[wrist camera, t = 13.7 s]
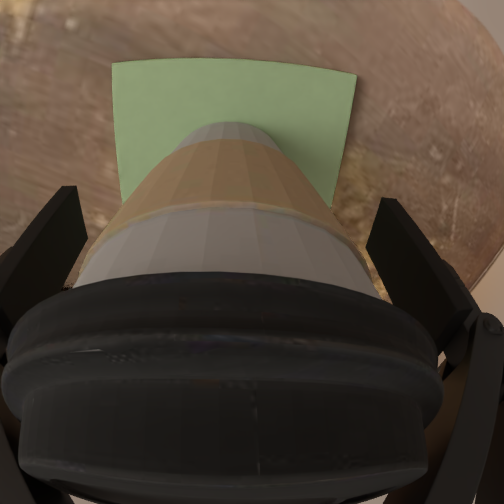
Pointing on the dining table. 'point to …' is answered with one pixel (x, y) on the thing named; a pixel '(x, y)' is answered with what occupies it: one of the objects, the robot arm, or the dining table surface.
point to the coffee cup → (223, 348)
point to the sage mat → (230, 111)
